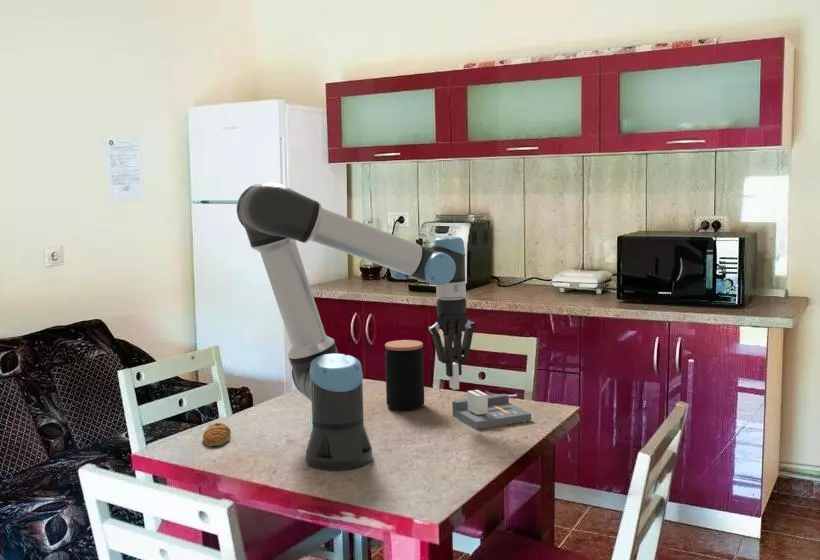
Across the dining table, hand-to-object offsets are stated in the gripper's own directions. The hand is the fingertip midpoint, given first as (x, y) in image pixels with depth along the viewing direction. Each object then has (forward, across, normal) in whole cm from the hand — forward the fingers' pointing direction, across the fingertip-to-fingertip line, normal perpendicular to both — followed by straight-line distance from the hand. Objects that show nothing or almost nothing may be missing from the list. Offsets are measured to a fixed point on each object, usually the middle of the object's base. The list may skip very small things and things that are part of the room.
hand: (454, 388), depth 211 cm
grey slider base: (+10, +10, 0) cm, 14 cm away
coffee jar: (+10, -6, +21) cm, 24 cm away
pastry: (+9, -59, +14) cm, 61 cm away
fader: (+7, +6, 0) cm, 10 cm away
